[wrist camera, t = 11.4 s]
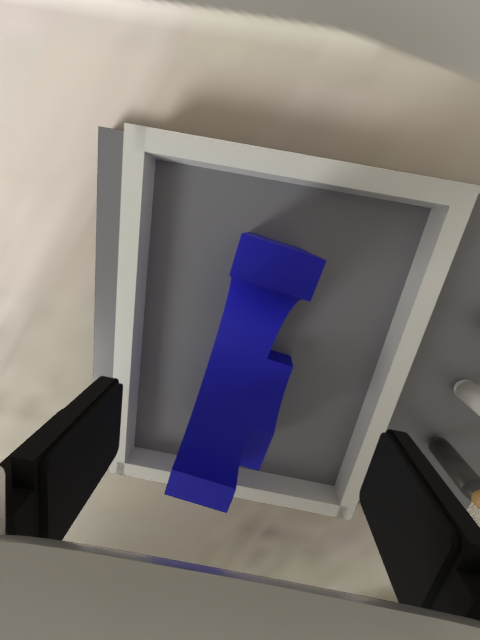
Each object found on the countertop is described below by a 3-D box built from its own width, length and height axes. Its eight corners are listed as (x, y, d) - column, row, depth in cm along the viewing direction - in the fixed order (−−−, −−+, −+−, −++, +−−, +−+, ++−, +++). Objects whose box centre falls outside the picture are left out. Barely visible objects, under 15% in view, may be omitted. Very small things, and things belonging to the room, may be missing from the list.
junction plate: (450, 509, 21) (515, 605, 16) (99, 440, 22) (44, 510, 16) (602, 220, 15) (792, 214, 10) (108, 132, 15) (26, 80, 10)
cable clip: (259, 435, 19) (257, 522, 13) (193, 414, 19) (164, 494, 13) (329, 257, 16) (368, 274, 10) (249, 231, 15) (241, 233, 10)
